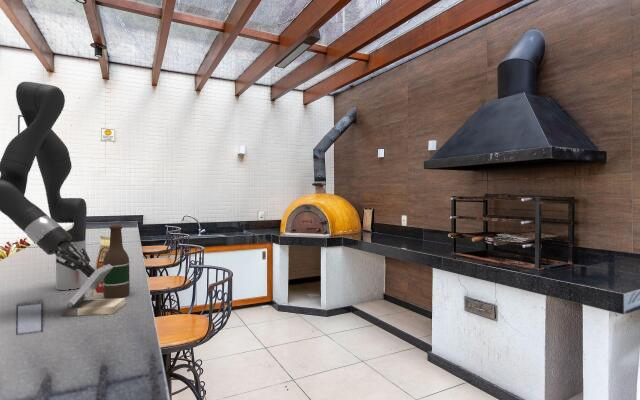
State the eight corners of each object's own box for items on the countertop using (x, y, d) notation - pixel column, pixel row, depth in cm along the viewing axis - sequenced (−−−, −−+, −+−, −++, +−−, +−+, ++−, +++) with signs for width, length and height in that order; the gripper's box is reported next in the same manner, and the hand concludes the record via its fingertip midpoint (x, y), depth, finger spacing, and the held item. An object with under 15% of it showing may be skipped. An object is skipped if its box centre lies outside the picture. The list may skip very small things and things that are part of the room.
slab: (65, 305, 102) (95, 269, 103) (81, 296, 111) (109, 263, 112) (70, 308, 102) (100, 273, 103) (85, 299, 111) (113, 267, 112)
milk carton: (93, 296, 123) (92, 237, 123) (95, 289, 131) (94, 234, 131) (123, 292, 127) (123, 235, 127) (124, 286, 135) (123, 233, 135)
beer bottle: (134, 294, 124) (134, 224, 124) (113, 300, 117) (112, 226, 117) (119, 292, 128) (118, 224, 127) (98, 297, 121) (97, 225, 120)
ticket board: (61, 316, 102) (61, 309, 102) (77, 306, 111) (77, 300, 111) (113, 313, 104) (113, 306, 104) (125, 304, 113) (125, 297, 113)
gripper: (51, 241, 111) (94, 280, 113) (23, 247, 98) (72, 291, 100) (70, 224, 112) (113, 263, 114) (45, 227, 99) (93, 271, 101)
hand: (94, 276), depth 107 cm, fingers closed
